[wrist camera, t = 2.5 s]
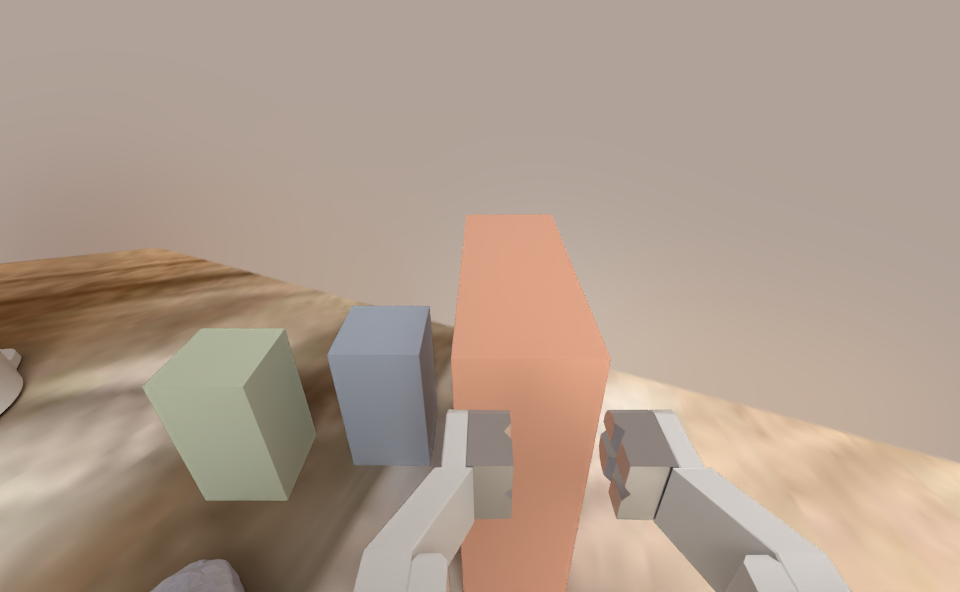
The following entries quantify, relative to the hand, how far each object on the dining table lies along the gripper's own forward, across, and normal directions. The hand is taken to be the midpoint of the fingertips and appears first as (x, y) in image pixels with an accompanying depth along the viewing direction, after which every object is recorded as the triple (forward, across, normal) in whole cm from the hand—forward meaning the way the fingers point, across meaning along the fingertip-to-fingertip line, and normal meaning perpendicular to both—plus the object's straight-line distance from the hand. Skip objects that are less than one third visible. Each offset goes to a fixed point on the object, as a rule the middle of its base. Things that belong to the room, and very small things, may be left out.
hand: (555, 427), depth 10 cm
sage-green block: (+14, +19, +20) cm, 31 cm away
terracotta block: (+13, 0, +20) cm, 24 cm away
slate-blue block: (+17, +9, +20) cm, 28 cm away
